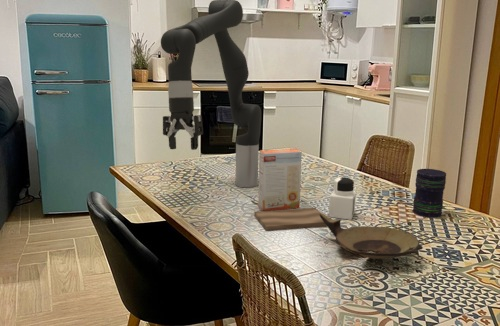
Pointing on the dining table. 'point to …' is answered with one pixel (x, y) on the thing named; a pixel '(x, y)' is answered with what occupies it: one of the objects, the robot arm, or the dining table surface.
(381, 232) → the oil lamp
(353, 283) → the dining table surface
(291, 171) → the cracker box
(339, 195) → the container
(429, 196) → the storage jar
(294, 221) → the walnut board
